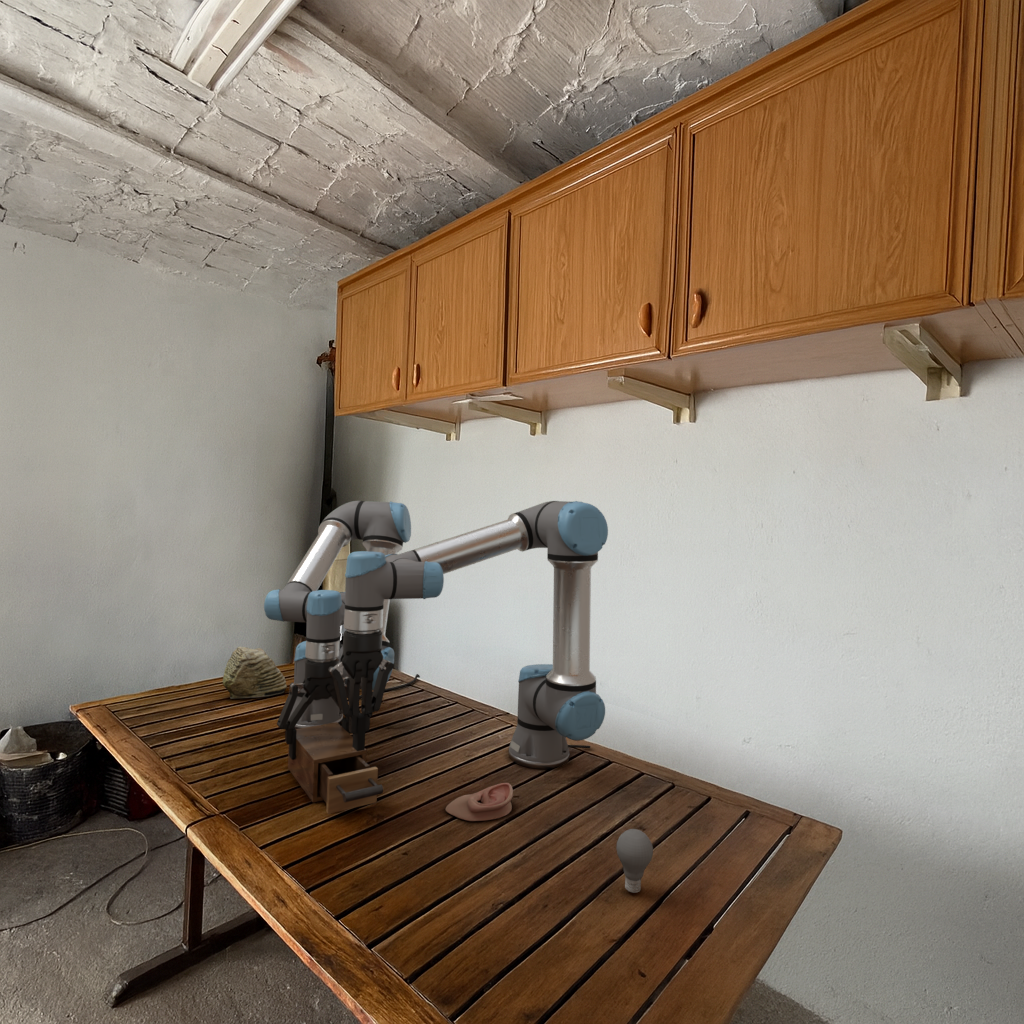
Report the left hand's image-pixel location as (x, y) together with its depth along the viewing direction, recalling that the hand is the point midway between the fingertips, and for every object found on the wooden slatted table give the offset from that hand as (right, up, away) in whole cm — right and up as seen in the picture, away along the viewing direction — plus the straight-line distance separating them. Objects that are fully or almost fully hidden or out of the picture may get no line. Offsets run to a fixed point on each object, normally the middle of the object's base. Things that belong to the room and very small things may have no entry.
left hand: (318, 752), depth 146 cm
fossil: (-36, -2, +52) cm, 63 cm away
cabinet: (+3, -4, -4) cm, 7 cm away
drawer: (+9, -4, -14) cm, 17 cm away
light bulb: (+65, -8, -40) cm, 77 cm away
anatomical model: (+38, -6, -15) cm, 41 cm away
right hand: (+14, +9, -20) cm, 26 cm away
